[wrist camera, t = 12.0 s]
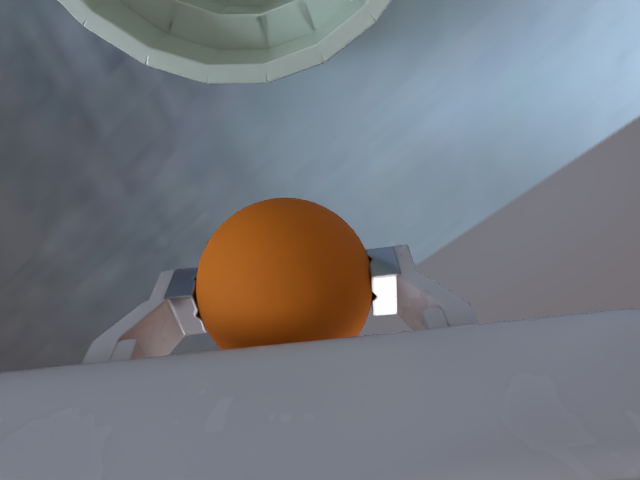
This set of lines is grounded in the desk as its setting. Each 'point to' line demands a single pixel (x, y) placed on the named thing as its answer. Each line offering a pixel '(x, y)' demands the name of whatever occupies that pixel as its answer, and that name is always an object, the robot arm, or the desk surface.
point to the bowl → (228, 34)
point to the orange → (283, 276)
